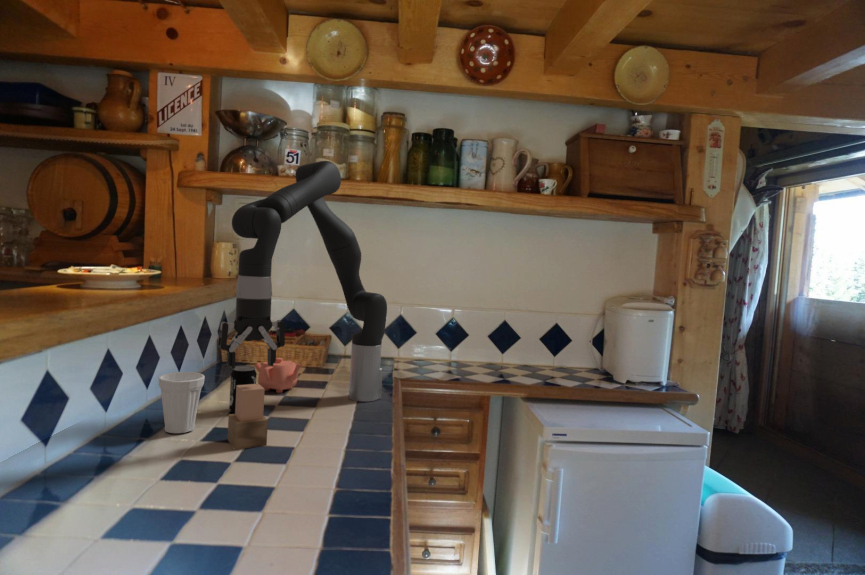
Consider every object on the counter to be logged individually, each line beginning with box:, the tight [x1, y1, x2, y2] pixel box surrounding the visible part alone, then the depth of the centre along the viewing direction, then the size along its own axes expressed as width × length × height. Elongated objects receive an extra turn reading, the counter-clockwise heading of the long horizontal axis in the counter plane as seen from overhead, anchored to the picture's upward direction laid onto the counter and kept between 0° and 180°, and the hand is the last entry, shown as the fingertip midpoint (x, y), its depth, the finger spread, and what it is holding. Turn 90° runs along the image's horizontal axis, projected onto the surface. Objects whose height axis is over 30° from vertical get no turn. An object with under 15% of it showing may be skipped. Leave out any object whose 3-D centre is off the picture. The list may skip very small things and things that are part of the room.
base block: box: [227, 413, 269, 451], centre depth 119 cm, size 7×7×6 cm
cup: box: [158, 371, 206, 434], centre depth 124 cm, size 10×10×13 cm
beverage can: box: [229, 365, 257, 414], centre depth 142 cm, size 7×7×12 cm
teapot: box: [253, 357, 304, 394], centre depth 166 cm, size 14×12×10 cm
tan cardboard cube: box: [234, 383, 266, 422], centre depth 119 cm, size 5×5×7 cm
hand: (251, 366), depth 119 cm, fingers open, 8 cm apart
